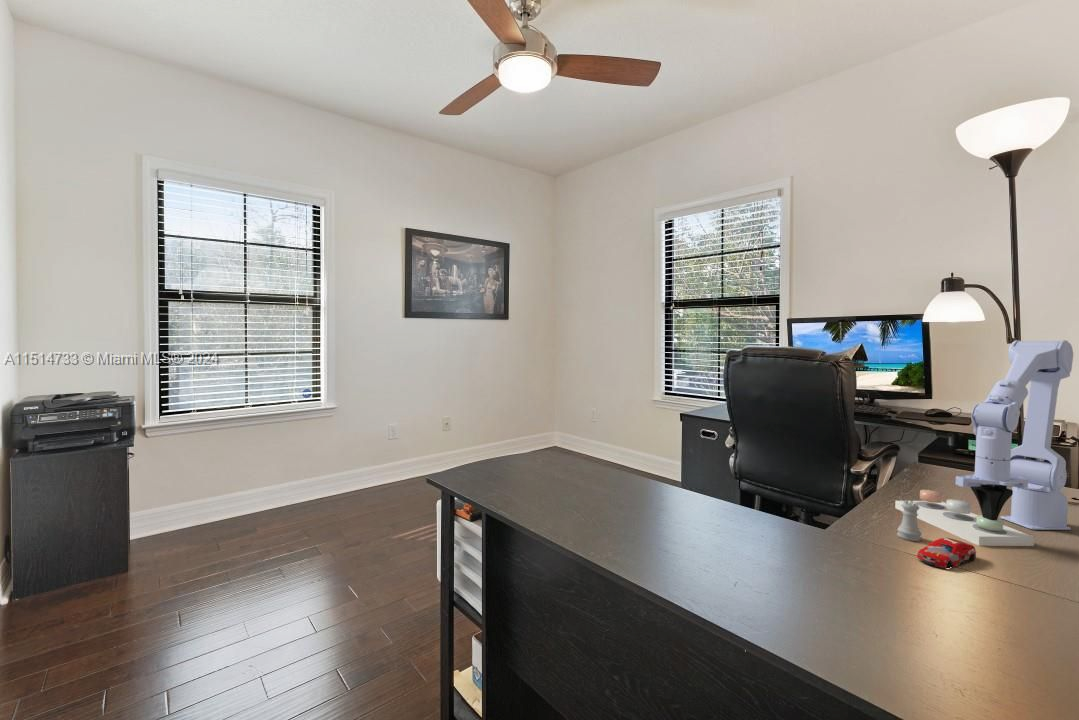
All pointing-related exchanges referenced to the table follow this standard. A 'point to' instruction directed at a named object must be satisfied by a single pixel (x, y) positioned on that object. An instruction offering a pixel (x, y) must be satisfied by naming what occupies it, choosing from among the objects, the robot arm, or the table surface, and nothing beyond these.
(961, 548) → the race car
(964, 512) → the grey button
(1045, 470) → the robot arm
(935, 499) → the terracotta button
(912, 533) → the rook chess piece
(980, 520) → the sage button
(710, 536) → the table surface
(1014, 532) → the button panel
